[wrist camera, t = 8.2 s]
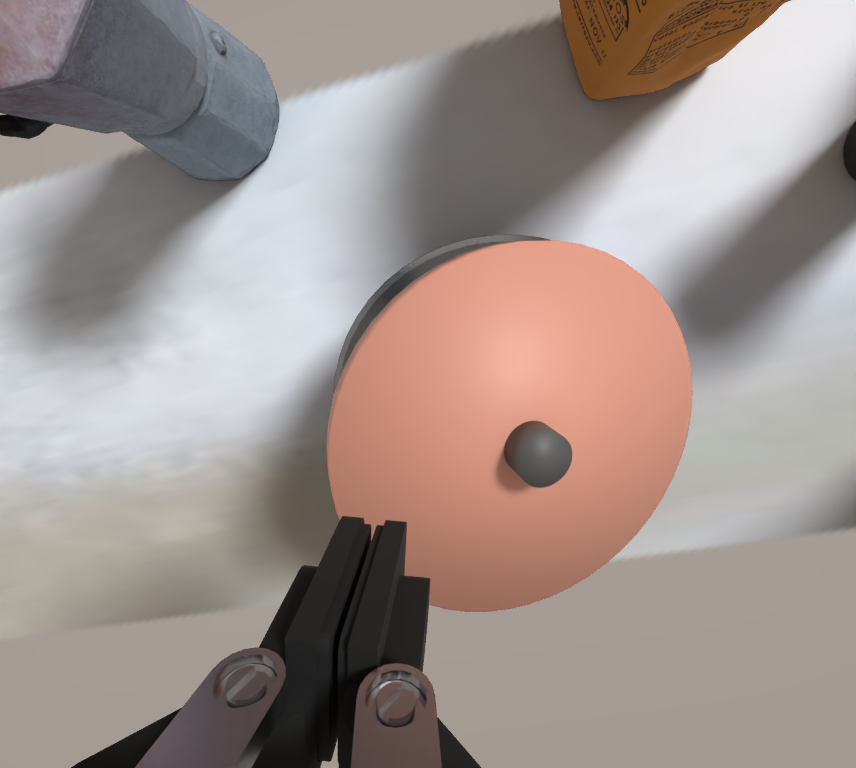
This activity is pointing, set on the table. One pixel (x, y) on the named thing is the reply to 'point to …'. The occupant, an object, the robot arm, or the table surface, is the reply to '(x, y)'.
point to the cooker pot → (405, 278)
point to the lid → (512, 419)
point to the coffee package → (653, 39)
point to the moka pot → (138, 80)
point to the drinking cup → (851, 152)
